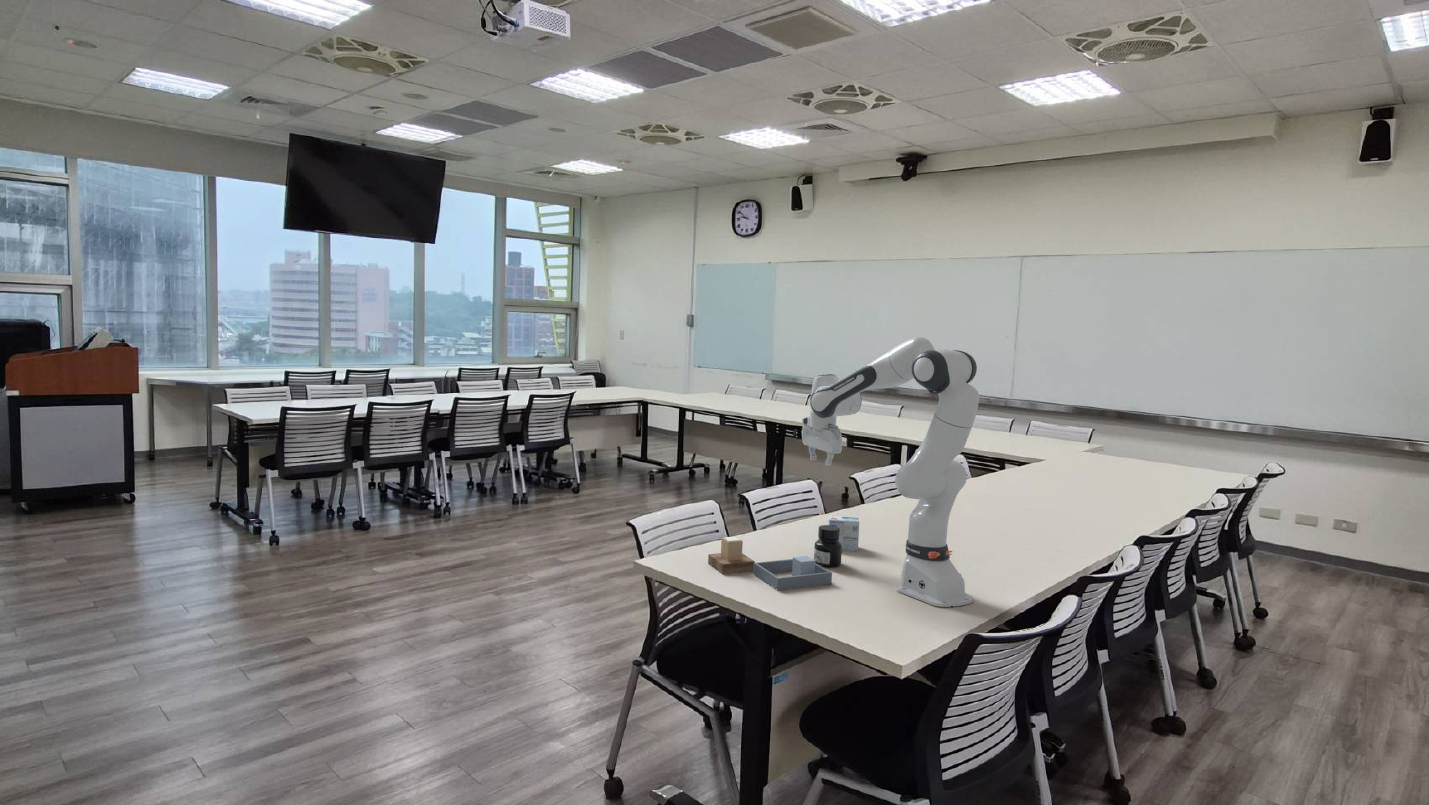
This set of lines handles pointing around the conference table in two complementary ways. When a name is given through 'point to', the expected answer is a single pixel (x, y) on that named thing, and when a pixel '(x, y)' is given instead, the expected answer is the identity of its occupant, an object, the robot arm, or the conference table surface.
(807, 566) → the plain box
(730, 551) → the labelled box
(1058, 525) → the conference table surface
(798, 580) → the parts tray
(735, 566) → the walnut stand
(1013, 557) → the conference table surface
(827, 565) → the ink bottle
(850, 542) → the light bulb box
